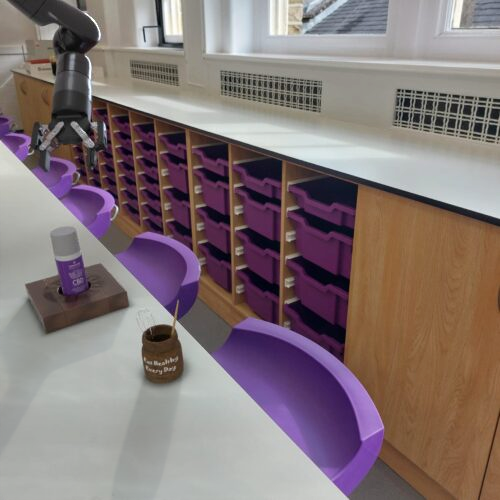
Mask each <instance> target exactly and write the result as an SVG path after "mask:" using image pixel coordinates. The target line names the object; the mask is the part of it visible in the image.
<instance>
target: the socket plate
mask: <svg viewBox="0 0 500 500" xmlns="http://www.w3.org/2000/svg"><path fill="white" fill-rule="evenodd" d="M84 268H85V273H86V278H87V283H88V288H89V289H88V290H87V291H85V292H83V293H81V294H77V295H71V296H65V295H63V291H62V287H61V283H60V278H59V274H57V275H52V276H49V277H45V278H42V279H38V280H34V281H31V282H27V283H25V284H24V287H25V291H26V294H27V298H28V300H29V302H30V304H31V306H32V308H33V310H34V312H35V314H36V317H37V318H38V320H39V322H40V324H41V326H42V328H43V330H44V332H45V334H47V335H48V334H51V333H54V332H56V331H60V330H63V329H67V328H68V327H71V326H75V325H77V324H81V323H83V322H87V321H90V320H92V319H95V318H99V317H101V316H104V315H107V314H111V313H114V312H116V311H120V310H122V309H126V308H128V307H130V302H129V296H128V291H127V290H126V289H125V287H124V286H122V284H121V283H120V282H119V281H118V280H117V279H116V278H115V277H114V275H113V274H111V272H110V271H109V270H108V269H107V268H106V267H105V266H104V264H103V263H102V262H99V263H95V264H92V265H89V266H84Z"/></svg>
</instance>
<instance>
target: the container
mask: <svg viewBox="0 0 500 500" xmlns="http://www.w3.org/2000/svg"><path fill="white" fill-rule="evenodd" d="M49 236H50V240H51V245H52V246H51V247H52V250H53V256H54V261H55V265H56V269H57V275H59V278H60V283H61V287H62V291H63V295H65V296H71V295H77V294H81V293H83V292H85V291H87V290H88V289H89V288H88V283H87V278H86V273H85V268H84V267H85V263H84V259H83V254H82V249H81V245H80V241H79V237H78V232H77V228H76V227H75V226H60V227H56V228H54V229H52V230H51V231H50V232H49Z"/></svg>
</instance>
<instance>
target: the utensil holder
mask: <svg viewBox="0 0 500 500" xmlns="http://www.w3.org/2000/svg"><path fill="white" fill-rule="evenodd" d="M179 303H180V300H179V299H177V302H176V307H175V312H174V317H173V322H172V325H171V324H164V323H161V324H156V322H155V321H154V317H153V315H152V314H151V312H150V311H148V309H147V308H146V309H145V308H143V309H139V310H138V313H136V314H135V316H136V318H135V320H136V323H137V325H138V327H139V329H140V331H141V332H142V334H141V335H142V336H141V343H142V345H141V359H142V365H143V370H144V374H145V377H146V379H148V381H150V382H152V383H155V384H166V383H171V382H173V381H175V380H177V379H178V378H180V376H182V375H183V372H184V370H185V369H184V367H185V365H184V364H185V363H184V355H183V348H182V342H181V341H180V339H179V334H178V331H177V329H176V324H177V316H178V311H179V310H178V309H179ZM147 311H148V313H149V314H150V317H151V319H152V320H151V321H153V322H152V323H151V322H150V321H149V320H150V319H149V316H148V315H147V314H146V312H147ZM142 312H143V313H144V315H145V316H146V319H147V322H148V326H149V327H148V328H147V329H146V325H145V323H144V320H143V319H142V318H143V314H141V313H142ZM140 314H141V315H140ZM138 317H139V318H138ZM138 319H140V321H141V324H142V326H143V327H144V331H143V329H142V328H141V326H140V322H139V321H138ZM152 324H153V325H152Z"/></svg>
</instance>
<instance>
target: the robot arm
mask: <svg viewBox="0 0 500 500" xmlns="http://www.w3.org/2000/svg"><path fill="white" fill-rule="evenodd" d="M6 2H8V3H9V4H10V5H11V6H12V7H13V8H15V9H16V10H17V11H18V12H20V13H21V14H22V15H23V16H24V17H26V18H27V19H28V20H30V21H31V22H32V24H35V25H36V26H38V27H45V26H48V25H52V24H53V25H54V24H55V25H57V26H59V27H58V28H56V30H55V32H54V33H53V37H52V42H51V43H52V45H51V46H52V51H53V54H54V58H55V62H56V70H55V80H54V83H53V88H52V89H53V90H52V100H51V101H52V102H51V114H50V121H49V123H48V124H41V123H40V121H35V122H34V123H33V126H32V131H31V132H32V133H31V137H30V146H29V147H30V148H31V149H32V150H33V152H34V153H35V154H36V155H39V160H38V165H39V167H40V168H41V170H42V171H43V172H44V173H50V167H51V154H53V152H54V151H55V150H58V149H59V148H60V147H61V146H69V145H75V146H76V145H80V144H81V143H82V144H83V145H84V146H85V147H86V161H85V162H86V163H85V164H86V168H87V169H88V171H93V170H94V168H96V166H97V160H98V158H97V156H98V153H99V152H101V151H102V152H105V151H107V150H108V136H107V126H106V123H105V122H104V119H102V118H98V119H97V120H96V121H94V122H91V119H92V103H93V89H92V76H93V69H92V63H91V60H90V58H89V57H88V56H87V55H86V54H87V53H88V52H89V51H90V50H92V49H94V48H95V47H96V46H97V45H98V44H99V43H100V41H101V38H102V37H101V35H102V34H101V31H100V27H99V26H98V24H97V22H96V21H95V20H94V19H93V18H92V17H91V16H90V15H89V14H88V13H86V12H84V11H83V10H81V9H79V8H78V7H76V6H74V5H72V4H70V3H68V1H65V0H6ZM93 130H94V131H95V134H97V141H95V142H94V141H93V140H92V139H91V138H90V137H89V135H90V133H91V132H92V131H93ZM47 133H48V134H47ZM44 137H45V139H44Z"/></svg>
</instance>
